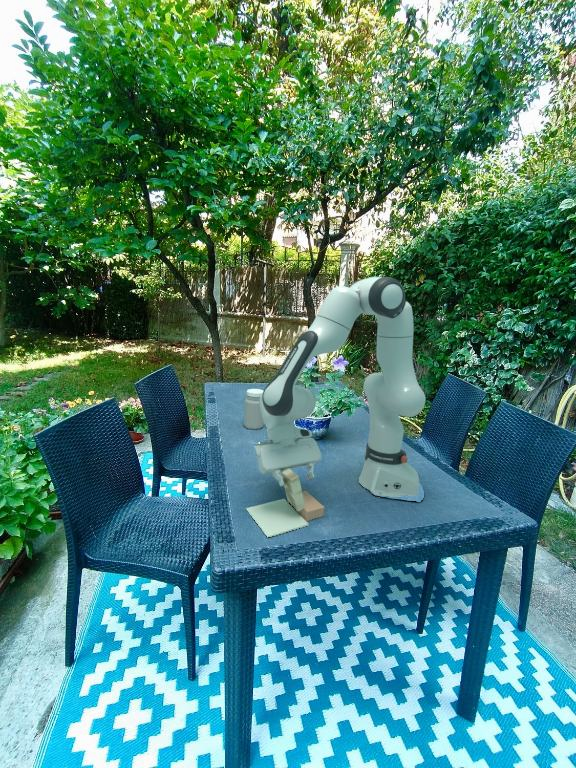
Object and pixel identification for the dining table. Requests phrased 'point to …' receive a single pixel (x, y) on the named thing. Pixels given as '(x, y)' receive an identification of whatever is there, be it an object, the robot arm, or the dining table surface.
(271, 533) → the rubber mat
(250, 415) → the jar
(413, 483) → the robot arm
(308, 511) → the terracotta step
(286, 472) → the birch block
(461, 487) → the dining table surface
